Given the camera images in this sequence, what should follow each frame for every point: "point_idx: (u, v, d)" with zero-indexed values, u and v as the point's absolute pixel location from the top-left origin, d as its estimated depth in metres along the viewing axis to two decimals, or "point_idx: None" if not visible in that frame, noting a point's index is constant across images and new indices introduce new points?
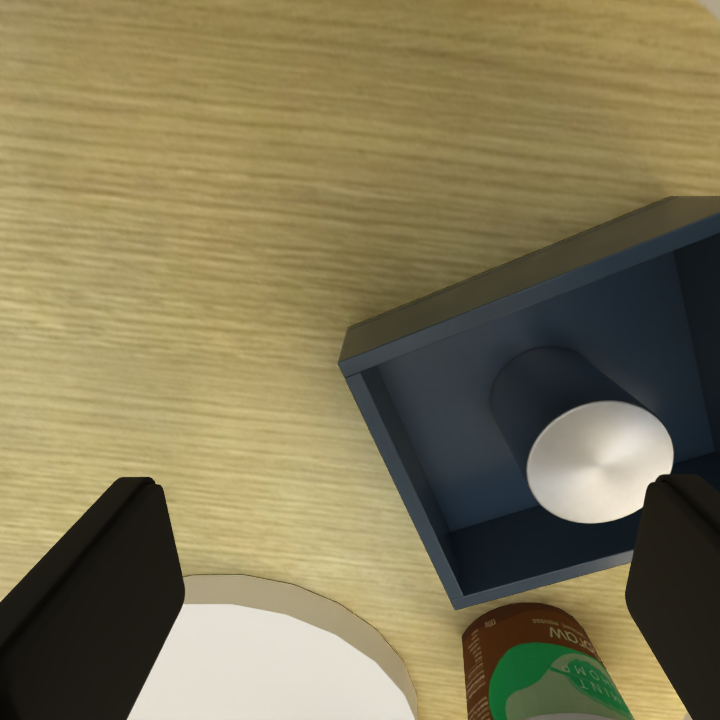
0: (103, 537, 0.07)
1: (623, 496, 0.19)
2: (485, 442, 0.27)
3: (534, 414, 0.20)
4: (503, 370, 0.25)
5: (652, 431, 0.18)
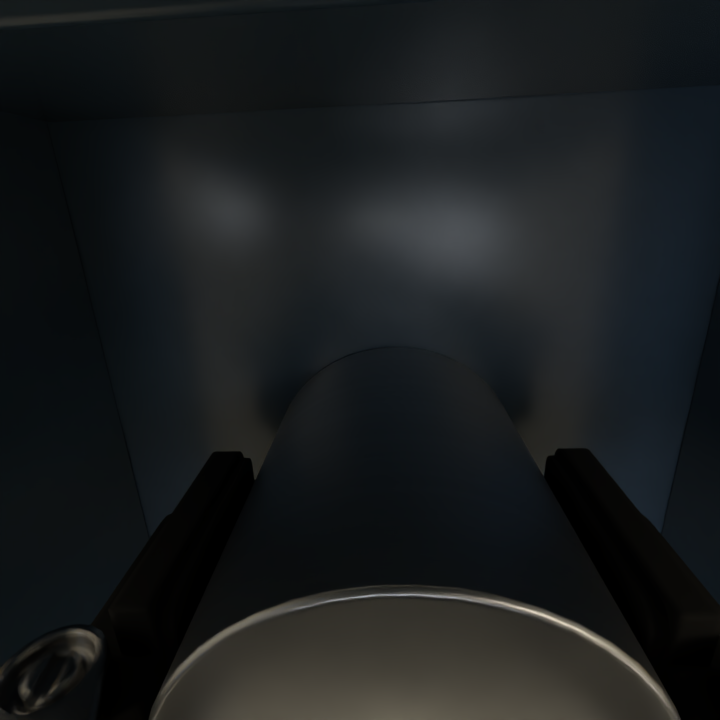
0: (216, 500, 0.08)
1: None
2: None
3: None
4: None
5: (321, 645, 0.04)
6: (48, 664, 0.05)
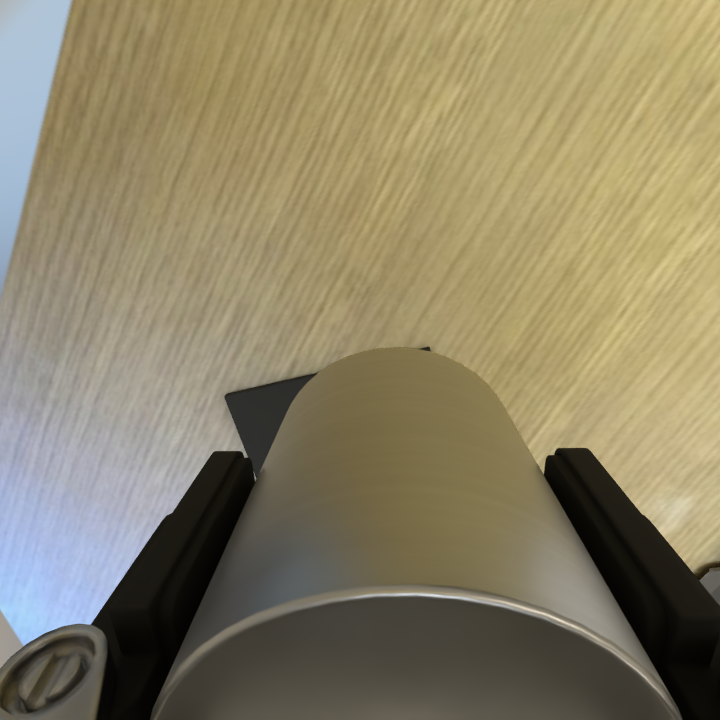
0: (216, 500, 0.08)
1: None
2: None
3: None
4: None
5: (323, 644, 0.04)
6: (48, 664, 0.05)
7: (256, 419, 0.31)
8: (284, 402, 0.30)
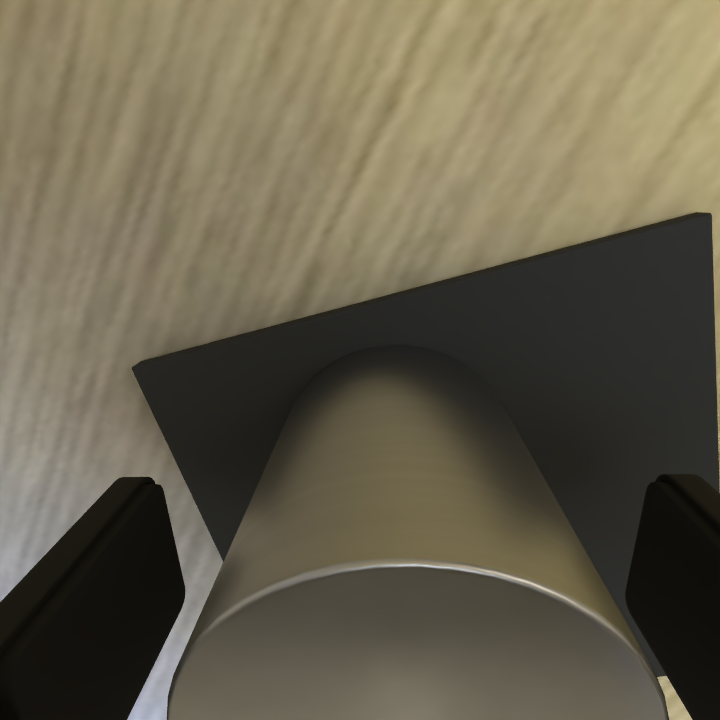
0: (103, 537, 0.07)
1: None
2: None
3: None
4: None
5: (331, 612, 0.05)
6: None
7: (217, 424, 0.12)
8: (288, 380, 0.11)
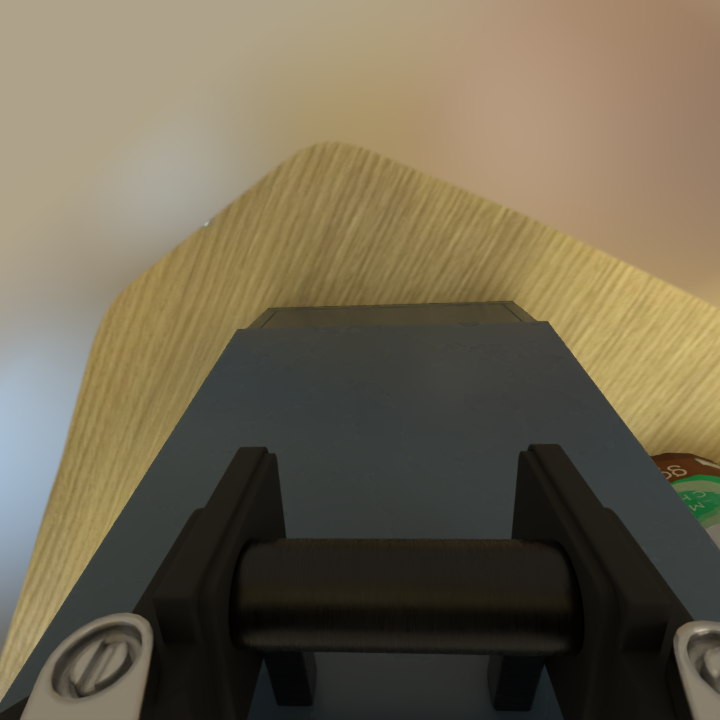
0: (246, 494, 0.08)
1: None
2: None
3: None
4: None
5: None
6: (98, 650, 0.05)
7: None
8: None
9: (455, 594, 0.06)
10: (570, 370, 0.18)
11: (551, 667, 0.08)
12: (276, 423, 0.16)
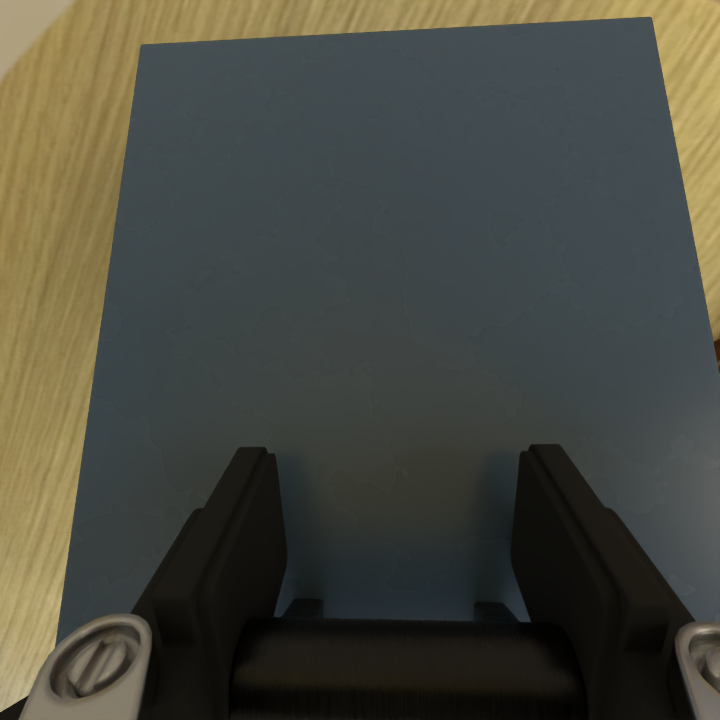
0: (246, 494, 0.08)
1: None
2: None
3: None
4: None
5: None
6: (96, 650, 0.05)
7: None
8: None
9: None
10: (656, 153, 0.12)
11: None
12: (238, 274, 0.12)
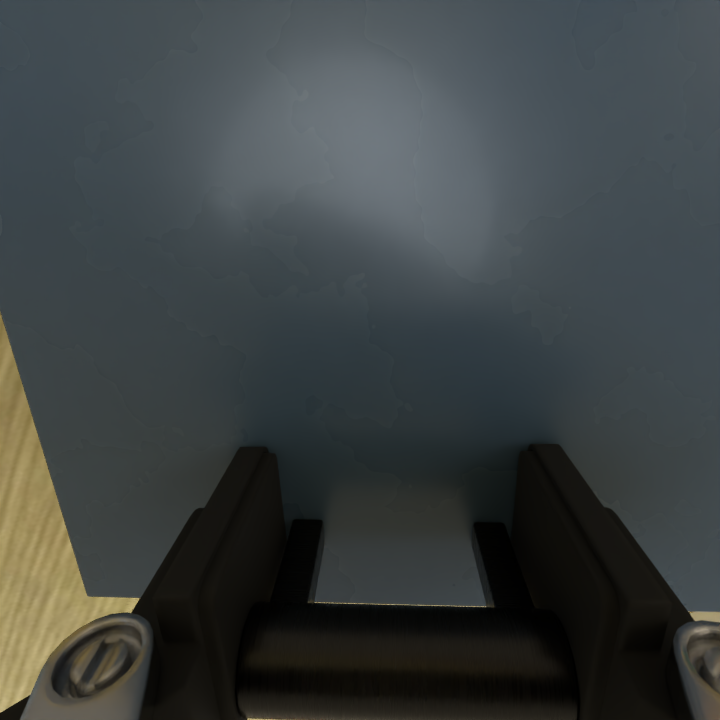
0: (247, 494, 0.08)
1: None
2: None
3: None
4: None
5: None
6: (98, 650, 0.05)
7: None
8: None
9: None
10: None
11: None
12: (151, 129, 0.08)
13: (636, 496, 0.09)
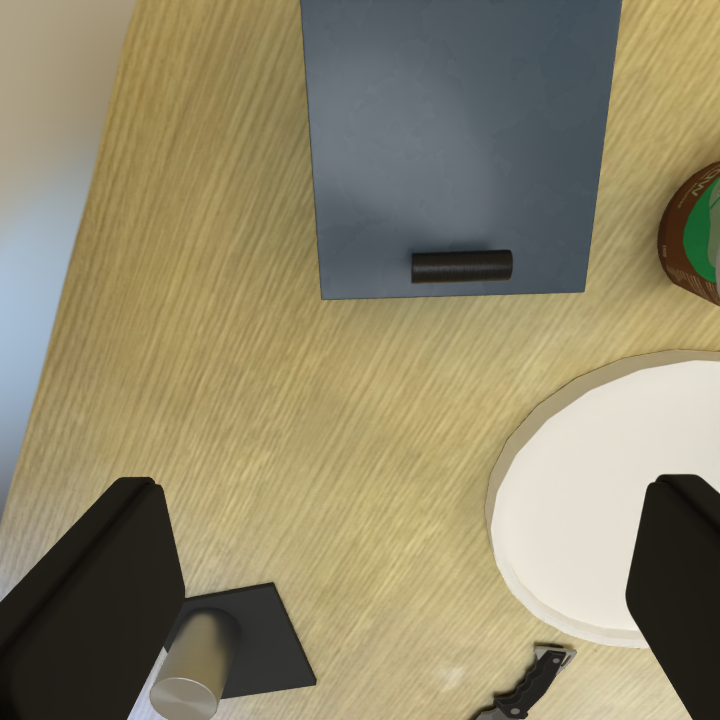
0: (103, 537, 0.07)
1: (202, 698, 0.39)
2: None
3: None
4: None
5: (169, 683, 0.38)
6: None
7: None
8: (182, 613, 0.45)
9: (476, 276, 0.23)
10: (609, 12, 0.22)
11: None
12: (377, 101, 0.24)
13: (541, 237, 0.26)
